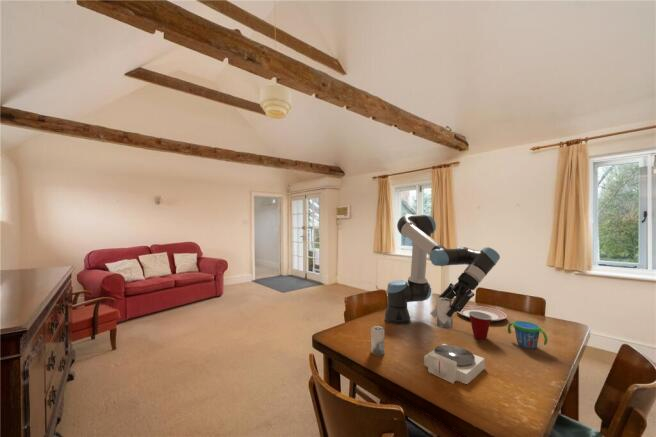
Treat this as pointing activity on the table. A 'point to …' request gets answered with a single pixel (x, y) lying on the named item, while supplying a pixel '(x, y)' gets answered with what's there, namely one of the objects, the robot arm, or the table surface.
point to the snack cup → (527, 334)
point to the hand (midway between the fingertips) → (436, 318)
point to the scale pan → (456, 354)
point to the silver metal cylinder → (441, 308)
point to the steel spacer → (377, 340)
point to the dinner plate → (494, 313)
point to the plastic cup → (480, 324)
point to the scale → (453, 368)
